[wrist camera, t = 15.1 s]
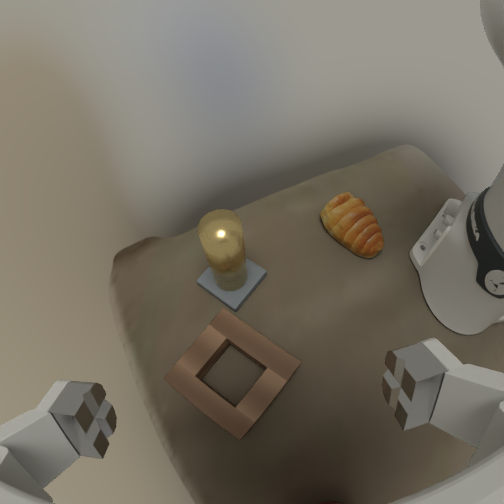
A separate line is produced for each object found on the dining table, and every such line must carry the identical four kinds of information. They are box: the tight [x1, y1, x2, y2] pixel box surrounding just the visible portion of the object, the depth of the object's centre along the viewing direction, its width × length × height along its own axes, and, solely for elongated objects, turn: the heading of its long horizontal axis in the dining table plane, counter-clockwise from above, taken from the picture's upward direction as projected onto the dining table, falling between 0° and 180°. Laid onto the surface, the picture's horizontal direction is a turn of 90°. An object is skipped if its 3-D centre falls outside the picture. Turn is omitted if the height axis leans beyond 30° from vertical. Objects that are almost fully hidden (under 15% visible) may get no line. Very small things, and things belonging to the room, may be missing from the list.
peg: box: [198, 209, 248, 291], centre depth 32 cm, size 4×4×10 cm
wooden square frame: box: [164, 308, 301, 440], centre depth 30 cm, size 10×10×3 cm
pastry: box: [320, 192, 384, 258], centre depth 38 cm, size 9×7×4 cm
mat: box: [197, 258, 267, 312], centre depth 36 cm, size 6×6×1 cm
